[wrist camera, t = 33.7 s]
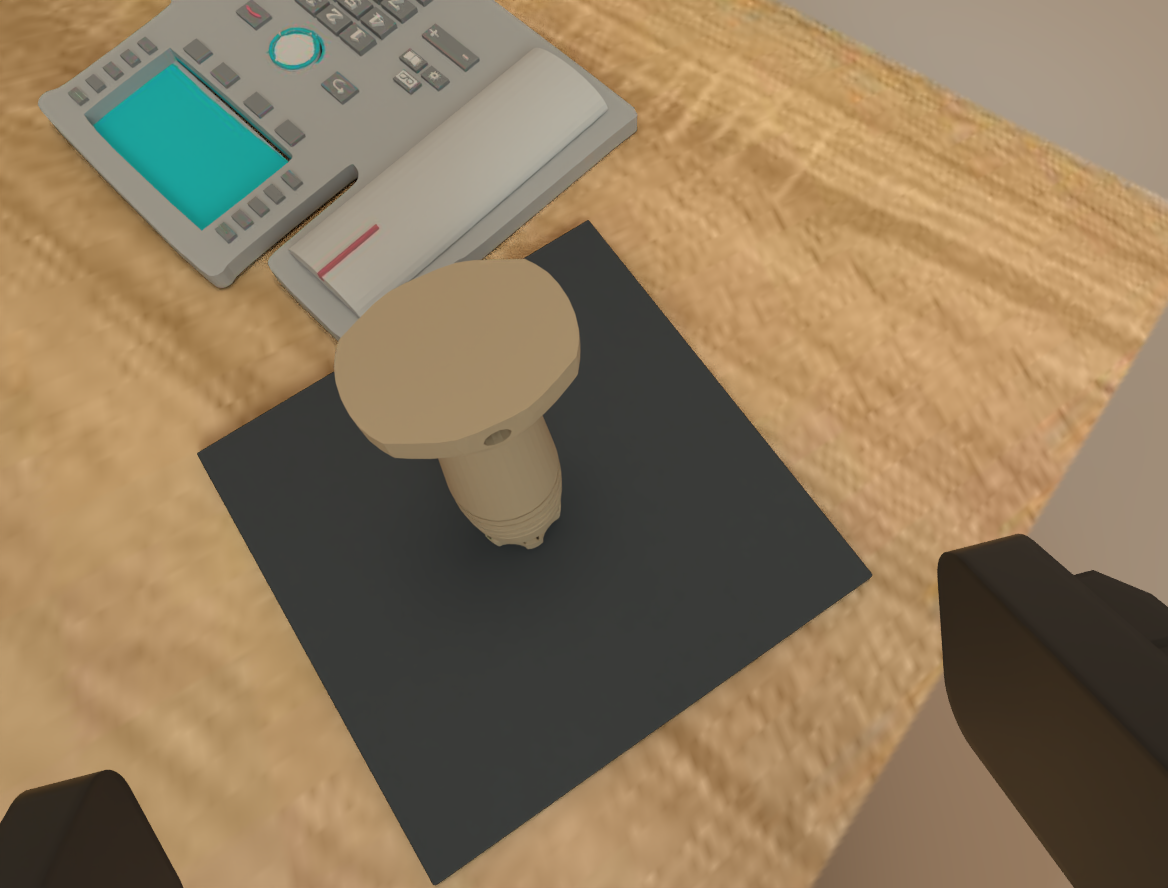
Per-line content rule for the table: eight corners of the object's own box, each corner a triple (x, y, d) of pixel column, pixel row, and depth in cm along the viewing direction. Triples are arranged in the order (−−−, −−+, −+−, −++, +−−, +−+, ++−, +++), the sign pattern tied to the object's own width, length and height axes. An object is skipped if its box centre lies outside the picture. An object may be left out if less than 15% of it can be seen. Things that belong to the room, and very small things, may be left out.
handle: (425, 497, 39) (309, 324, 25) (567, 432, 40) (530, 228, 26) (471, 602, 37) (374, 479, 24) (617, 532, 38) (608, 373, 24)
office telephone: (644, 89, 44) (310, 378, 39) (643, 127, 46) (329, 403, 42) (320, -153, 50) (1, 72, 46) (335, -108, 52) (33, 109, 48)
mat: (870, 578, 38) (873, 574, 37) (436, 885, 34) (433, 886, 34) (588, 226, 44) (588, 219, 44) (202, 457, 41) (195, 452, 40)
